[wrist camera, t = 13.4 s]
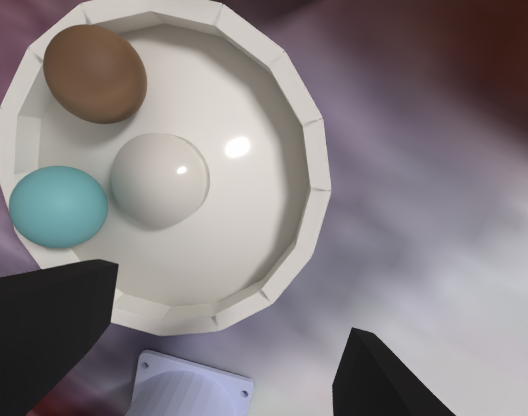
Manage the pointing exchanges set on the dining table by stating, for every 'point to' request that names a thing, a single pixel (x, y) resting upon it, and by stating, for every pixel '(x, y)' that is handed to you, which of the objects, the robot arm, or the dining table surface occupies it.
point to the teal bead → (58, 207)
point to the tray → (224, 126)
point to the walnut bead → (95, 74)
